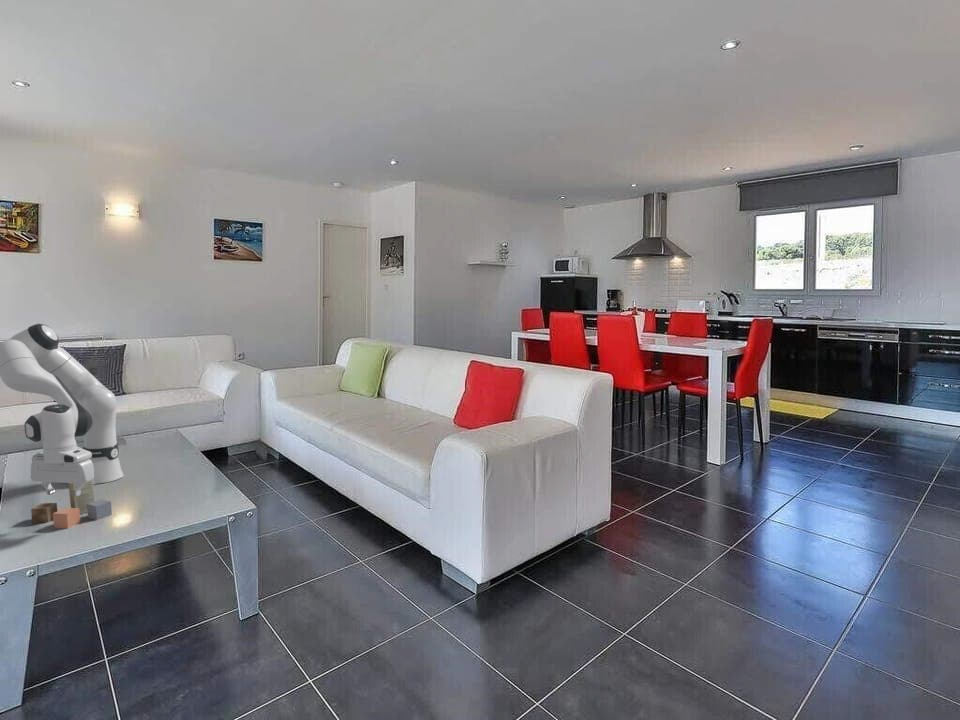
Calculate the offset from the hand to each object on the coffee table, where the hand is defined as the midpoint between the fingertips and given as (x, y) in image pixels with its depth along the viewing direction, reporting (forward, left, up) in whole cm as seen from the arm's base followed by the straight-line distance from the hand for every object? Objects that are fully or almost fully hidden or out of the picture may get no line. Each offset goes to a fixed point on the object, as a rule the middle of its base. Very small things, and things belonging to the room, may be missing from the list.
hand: (63, 494), depth 184 cm
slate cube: (+5, +8, -11) cm, 14 cm away
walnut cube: (-11, +3, -11) cm, 15 cm away
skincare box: (-4, +11, -11) cm, 16 cm away
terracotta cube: (0, 0, -11) cm, 11 cm away
